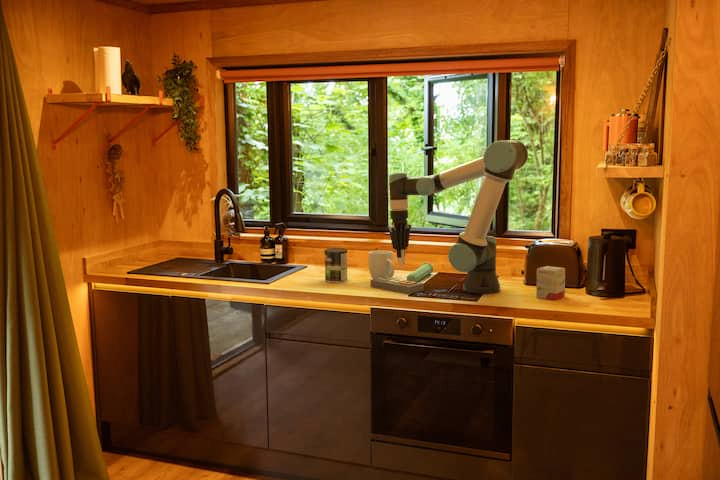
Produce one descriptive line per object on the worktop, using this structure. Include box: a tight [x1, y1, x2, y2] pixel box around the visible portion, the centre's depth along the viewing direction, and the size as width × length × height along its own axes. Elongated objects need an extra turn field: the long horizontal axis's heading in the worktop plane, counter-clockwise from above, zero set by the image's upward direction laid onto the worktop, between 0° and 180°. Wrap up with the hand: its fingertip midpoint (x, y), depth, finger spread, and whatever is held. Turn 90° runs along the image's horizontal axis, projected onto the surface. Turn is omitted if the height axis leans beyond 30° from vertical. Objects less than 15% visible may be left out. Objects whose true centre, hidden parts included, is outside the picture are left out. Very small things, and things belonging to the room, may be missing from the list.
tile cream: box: [388, 278, 406, 284], centre depth 305 cm, size 5×5×4 cm
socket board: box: [370, 278, 425, 295], centre depth 305 cm, size 22×9×3 cm, turn 46°
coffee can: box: [323, 247, 348, 284], centre depth 323 cm, size 10×10×14 cm
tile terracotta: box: [400, 281, 417, 286], centre depth 301 cm, size 5×5×4 cm
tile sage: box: [377, 277, 394, 282], centre depth 309 cm, size 5×5×4 cm
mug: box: [367, 249, 395, 280], centre depth 319 cm, size 15×11×13 cm
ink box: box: [535, 265, 566, 301], centre depth 285 cm, size 9×9×12 cm
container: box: [406, 262, 434, 283], centre depth 324 cm, size 6×6×25 cm
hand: (401, 264), depth 305 cm, fingers closed
